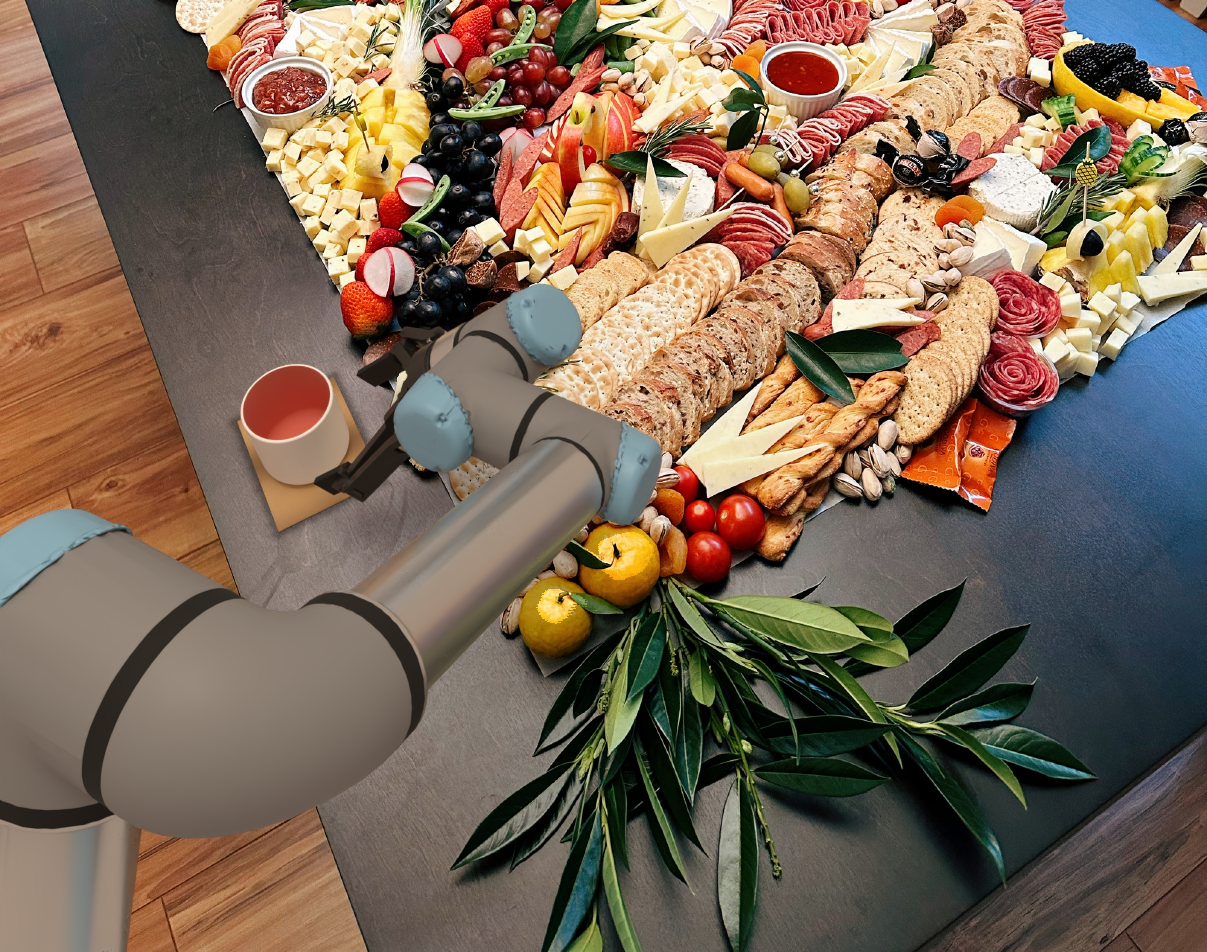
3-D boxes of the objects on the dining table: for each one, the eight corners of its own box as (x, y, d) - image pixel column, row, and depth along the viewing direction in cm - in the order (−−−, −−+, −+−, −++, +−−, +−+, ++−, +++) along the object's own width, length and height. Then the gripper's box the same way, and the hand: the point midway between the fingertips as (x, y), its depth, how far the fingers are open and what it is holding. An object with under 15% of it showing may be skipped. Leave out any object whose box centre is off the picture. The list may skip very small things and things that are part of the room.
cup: (355, 477, 129) (336, 429, 122) (265, 499, 128) (241, 452, 121) (347, 403, 136) (329, 354, 129) (262, 424, 135) (238, 375, 128)
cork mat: (381, 481, 129) (381, 480, 129) (278, 532, 125) (278, 531, 125) (334, 377, 139) (333, 376, 139) (237, 422, 135) (237, 421, 135)
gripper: (453, 502, 106) (335, 552, 120) (517, 290, 124) (407, 354, 137) (388, 465, 104) (274, 520, 117) (463, 253, 121) (356, 322, 134)
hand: (346, 430), depth 127 cm, fingers open, 13 cm apart
